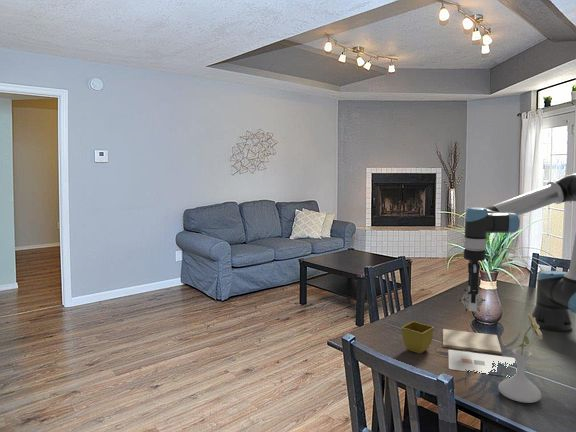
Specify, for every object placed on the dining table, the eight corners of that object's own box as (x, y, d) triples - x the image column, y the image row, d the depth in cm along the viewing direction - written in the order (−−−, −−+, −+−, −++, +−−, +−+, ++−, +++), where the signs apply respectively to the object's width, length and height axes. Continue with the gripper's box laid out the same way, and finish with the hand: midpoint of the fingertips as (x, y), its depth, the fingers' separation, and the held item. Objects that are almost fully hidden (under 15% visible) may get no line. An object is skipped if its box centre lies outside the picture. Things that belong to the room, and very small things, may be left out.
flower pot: (400, 350, 163) (400, 326, 162) (412, 343, 169) (413, 320, 168) (421, 357, 157) (422, 333, 156) (433, 350, 163) (434, 326, 162)
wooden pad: (496, 337, 174) (496, 335, 174) (501, 354, 159) (501, 351, 159) (442, 331, 181) (443, 329, 181) (442, 346, 166) (442, 344, 166)
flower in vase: (529, 411, 123) (535, 325, 120) (490, 394, 132) (494, 313, 129) (551, 396, 131) (556, 315, 127) (512, 381, 140) (517, 305, 137)
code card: (514, 358, 156) (514, 357, 156) (521, 379, 141) (522, 378, 141) (448, 349, 163) (448, 349, 163) (448, 368, 148) (448, 368, 148)
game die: (472, 318, 170) (485, 296, 172) (480, 318, 162) (493, 294, 163) (451, 305, 172) (464, 283, 173) (458, 304, 164) (471, 281, 165)
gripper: (462, 243, 177) (460, 297, 180) (465, 254, 156) (462, 315, 159) (483, 244, 174) (480, 299, 177) (488, 255, 154) (484, 317, 157)
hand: (471, 306), depth 168 cm, fingers closed on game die, 9 cm apart
